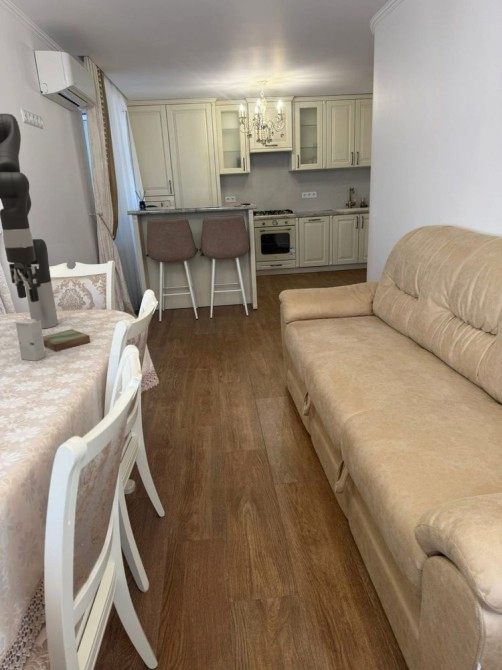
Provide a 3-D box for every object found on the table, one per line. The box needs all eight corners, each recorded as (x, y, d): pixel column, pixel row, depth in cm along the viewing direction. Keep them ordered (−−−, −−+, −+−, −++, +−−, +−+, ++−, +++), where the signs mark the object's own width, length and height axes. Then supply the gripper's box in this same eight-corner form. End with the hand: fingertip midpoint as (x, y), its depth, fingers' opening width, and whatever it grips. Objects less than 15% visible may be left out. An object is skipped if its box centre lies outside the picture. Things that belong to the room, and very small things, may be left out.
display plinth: (39, 344, 152) (38, 337, 151) (73, 335, 161) (72, 329, 160) (56, 351, 144) (55, 344, 144) (90, 342, 153) (89, 335, 152)
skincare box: (20, 359, 138) (13, 322, 134) (31, 354, 142) (24, 318, 138) (36, 361, 136) (30, 323, 133) (47, 356, 140) (41, 319, 137)
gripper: (-5, 245, 131) (6, 298, 136) (15, 247, 122) (26, 305, 127) (21, 242, 137) (31, 294, 141) (43, 245, 128) (51, 300, 132)
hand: (28, 299), depth 134 cm, fingers open, 8 cm apart
